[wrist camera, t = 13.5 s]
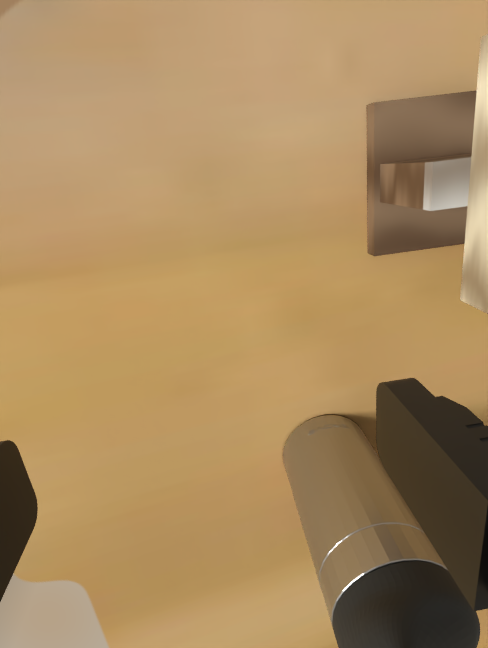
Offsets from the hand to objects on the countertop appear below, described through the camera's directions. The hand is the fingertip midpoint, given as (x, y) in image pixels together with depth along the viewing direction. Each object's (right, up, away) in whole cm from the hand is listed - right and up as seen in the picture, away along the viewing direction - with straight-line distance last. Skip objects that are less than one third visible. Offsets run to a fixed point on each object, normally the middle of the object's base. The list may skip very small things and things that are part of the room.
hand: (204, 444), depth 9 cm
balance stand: (+16, +15, +26) cm, 35 cm away
